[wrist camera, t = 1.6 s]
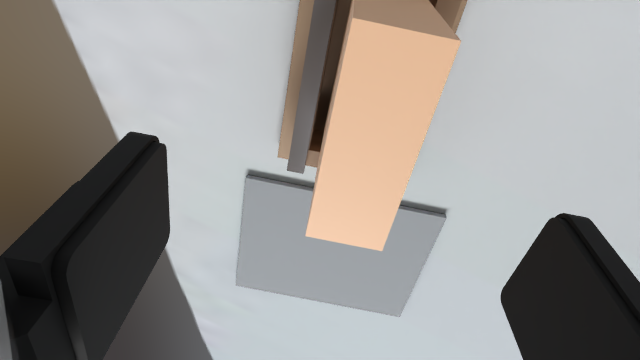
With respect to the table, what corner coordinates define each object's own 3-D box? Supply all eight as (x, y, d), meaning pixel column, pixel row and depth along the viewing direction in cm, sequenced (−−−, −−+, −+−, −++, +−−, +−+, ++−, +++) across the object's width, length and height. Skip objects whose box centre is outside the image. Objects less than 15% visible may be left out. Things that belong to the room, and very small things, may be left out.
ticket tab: (417, -14, 19) (461, 41, 11) (374, 133, 23) (381, 251, 15) (356, -27, 19) (352, 17, 11) (325, 122, 23) (305, 235, 15)
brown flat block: (488, -76, 18) (520, -74, 15) (399, 173, 26) (406, 215, 22) (318, -114, 18) (307, -122, 14) (280, 149, 26) (266, 187, 22)
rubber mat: (445, 214, 28) (446, 218, 27) (399, 313, 34) (399, 317, 33) (247, 174, 27) (245, 177, 27) (237, 281, 33) (235, 285, 33)
